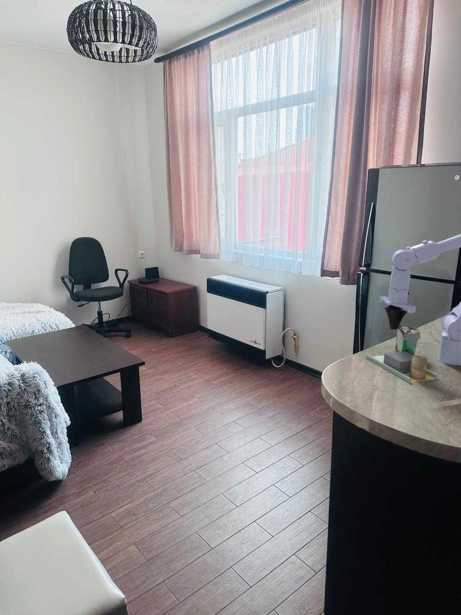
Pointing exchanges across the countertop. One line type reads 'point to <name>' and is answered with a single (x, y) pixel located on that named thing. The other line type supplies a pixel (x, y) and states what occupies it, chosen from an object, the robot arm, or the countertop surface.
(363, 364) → the countertop surface
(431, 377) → the runway
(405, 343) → the food container
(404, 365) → the slab
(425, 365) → the roller pin
